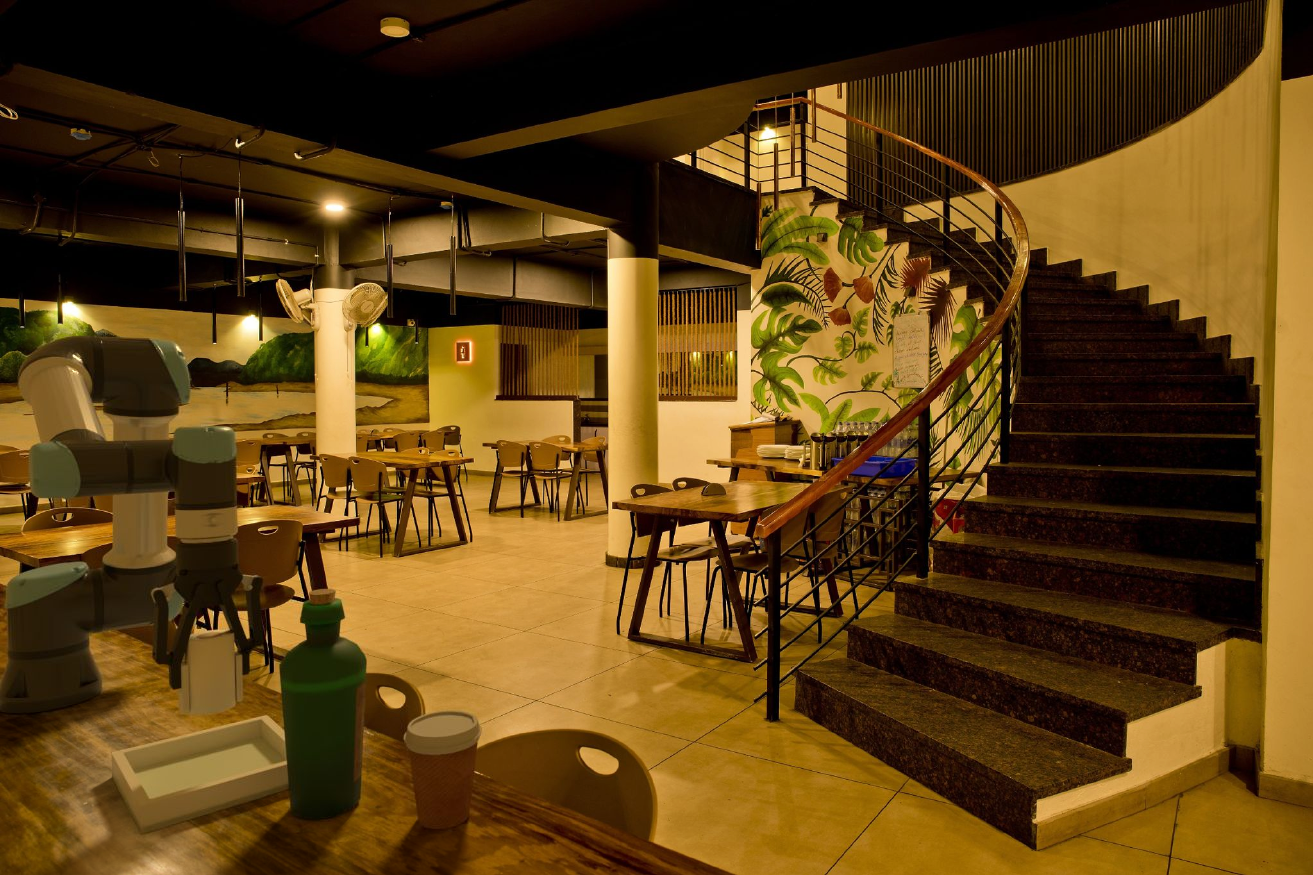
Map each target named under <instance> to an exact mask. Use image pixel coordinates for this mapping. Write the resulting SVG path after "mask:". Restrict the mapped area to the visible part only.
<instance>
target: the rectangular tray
mask: <svg viewBox="0 0 1313 875" xmlns="http://www.w3.org/2000/svg"><path fill="white" fill-rule="evenodd" d="M111 778H112V780H113V782H114V784H115V786H116V788H117V790H118V792H119V794H120V795H121V798H122V800H123V799H124V800H123V801H124V805H126V807H127V809H128V812H129V814H130V816H131V818H132V819H133V821H134V823H135V825H136V827H137V830H138V832H139V834H140V835H143V834H147V833H149V832H153V831H156V830H160V829H163V828H166V827H170V826H173V825H177V824H179V823H183V822H186V821H190V820H193V819H197V818H199V817H203V816H205V815H209V814H212V813H216V812H218V811H222V810H225V809H229V808H232V807H235V806H239V805H242V804H246V803H249V802H252V801H255V800H258V799H261V798H265V797H268V795H269V796H271V795H272V796H273V795H274V794H278V793H281V792H284V791H289V783H288V771H287V758H286V746H285V733H284V728H282V726H280V725H279V724H278V723H276V722H275V721H274V720H273V719H272V717H270V716H269V715H268V714H264V715H261V716H257V717H254V718H253V717H252V718H248V719H244V720H241V721H236V722H233V723H229V724H225V725H220V726H214V727H211V728H208V729H204V730H199V731H196V732H190V733H187V734H182V735H179V736H175V737H169V738H166V739H162V740H158V741H154V742H149V743H145V744H142V745H138V746H134V747H133V746H132V747H129V748H124V749H120V750H116V751H113V752H111Z"/></svg>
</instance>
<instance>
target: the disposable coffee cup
mask: <svg viewBox="0 0 1313 875" xmlns="http://www.w3.org/2000/svg"><path fill="white" fill-rule="evenodd" d="M482 731H483V729H482V726H481V725H480V724H479V719H478V718H477V716H476V715H475V714H473V713H471V712H469V711H463V710H440V711H439V710H438V711H433V712H429V713H425V714H422V715H420V716H418V717H417V716H416V718H415V717H414V719H412V720H411V721H409V723H408V725H407V729H406V731H405V733H404V735H403V742H404V743H405V746H406V748H407V751H408V758H409V765H410V766H409V767H410V772H411V780H412V785H413V793H414V799H415V808H416V814H417V822H418V824H419V825H420V826H422V827H423V828H425V829H431V830H443V829H450V828H454V827H457V826H458V825H461V824H463V823H464V822H465V821H466V820H467V819H468V818H469V817H470V814H471V813H470V812H471V811H470V810H471V803H472V794H473V786H474V777H475V770H476V768H475V767H476V758H477V753H478V752H477V750H478V744H479V743H478V742H479V741H480V737H481V734H482Z"/></svg>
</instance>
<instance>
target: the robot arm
mask: <svg viewBox="0 0 1313 875" xmlns="http://www.w3.org/2000/svg"><path fill="white" fill-rule="evenodd" d="M17 386H18V390H19V393H20V395H21V397H22V398H23V400H24V401H25V402H26V404H29V406H31V409H32V413H33V417H34V420H35V421H34V422H35V424H36V430H37V433H38V437H39V440H40V442H37V443H35V444H33V445H31V446H30V448H29V450H28V479H29V485H30V486H29V487H30V488H29V489H30V491H31V494H32V495H33V496H35V497H36V498H38V499H63V500H68V499H69V500H71V499H74V498H75V499H76V498H87V497H90V498H91V497H103V496H112V548H111V549H110V550H109V551H108V552H106V553H105V554H104V555H103V557H102V560H101V562H102V567H99V568H98V567H97V568H89V565H88V564H87V562H84V561H72V562H61V563H56V564H49V565H45V566H41V567H36V568H34V569H30V570H27V571H24V572H21V573H19V574H17V575H15V576H14V577H12V578H11V579H10V580H9V581H8V582H7V584H6V592H5V603H4V608H5V609H6V633H7V634H6V638H7V639H6V645H7V647H6V648H7V649H6V650H7V661H6V665H5V668H4V671H3V673H2V676H1V679H0V712H2V713H7V714H29V713H30V714H31V713H41V712H47V711H51V710H57V709H62V708H66V707H69V706H74V705H76V704H79V703H83V702H85V701H88V700H90V699H93V698H94V697H96V696H98V695H99V694H101V692H102V691H103V676H102V674H101V671H100V669H99V667H98V665H97V663H96V661H95V658H94V655H93V654H92V652H91V648H90V646H91V645H90V635H92V634H96V633H104V632H109V631H116V630H118V631H119V630H123V629H124V630H125V629H129V628H130V629H131V628H137V627H145V626H153V634H152V653H151V654H152V655H151V658H152V660H153V661H154V662H155V663H156V664H157V665H166V666H168V685H169V687H170V688H171V689H172V690H177V700H178V701H177V702H178V703H177V704H178V708H177V709H178V710H179V711H180V713H181V714H183V715H186V714H188V713H189V673H188V664H186V663H185V660H184V658H185V650H186V647H187V644H188V641H189V638H190V635H191V634H192V630H193V627H194V624H195V622H196V618H197V616H198V615H199V612H200V609H203V608H207V607H210V606H219V608H220V609H221V611H222V614H223V616H224V619H225V621H226V624H227V627H228V630H231V631H232V632H233V633H234V646H235V647H236V649H237V650H235V691H236V703H239V702H240V703H241V702H242V701H244V690H243V688H244V685H243V682H244V681H243V676H246V675H249V674H250V671H251V661H250V659H251V658H250V657H251V656H250V654H251V653H252V651H253V649H255V648H257V647H261V646H263V645H264V643H265V638H264V628H263V617H262V605H261V594H260V593H261V590H262V587H263V582H264V579H263V578H262V577H261V576H259V575H256V574H251V575H247V574H243V573H242V571H241V569H240V564H239V562H240V561H239V558H240V557H239V539H237V538H236V537H234V536H235V535H236V534H237V533H238V532H239V527H238V526H239V525H238V489H237V488H238V487H237V486H238V484H237V483H238V482H237V481H238V480H237V476H238V474H237V468H238V467H237V457H238V456H237V455H238V448H237V444H236V443H237V440H236V433H235V431H234V429H233V428H231V427H230V426H225V425H224V426H218V425H217V426H213V425H212V426H211V425H210V426H180V427H177V428H176V429H175V430H174V432H173V439H170V438H169V437H170V423H171V422H172V421H173V420H174V419H175V418H176V417H177V416H179V414H180V413H179V412H180V411H179V410H180V405H185V404H187V403H189V402H190V399H191V381H190V372H189V368H188V364H187V360H186V357H185V354H184V352H183V350H182V348H181V347H180V346H179V344H177V343H176V342H175V341H171V340H165V339H158V338H156V339H155V338H151V337H122V336H121V337H120V336H95V335H93V336H90V335H72V336H71V335H70V336H65V337H61V338H57V339H55V340H51V341H49V342H48V343H45V344H44V345H41V346H40V347H38V348H37V349H35V350H34V351H33V352H30V354H29V355H28V356H27V357H26V358H25V360H24V361H23V362H22V364H21V365H20V368H19V370H18V375H17ZM94 404H102V413H103V415H105V417H107V418H108V419H109V420H111V421H112V424H113V425H112V426H113V427H112V429H113V432H112V434H113V435H112V440H108V439H107V437H106V435H105V434H106V433H105V431H104V429H103V426H102V424H101V421H100V419H99V416H98V413H97V411H96V408H95V406H94ZM171 492H174V526H175V527H174V530H175V531H174V534H175V537H176V538H177V539H180V540H179V541H178V542H177V543H176V544H175V550H173V549H172V548H170V547H169V546H168V507H169V506H168V504H169V503H168V502H169V501H168V500H169V499H168V498H169V493H171ZM240 584H242V589H243V590H245V602H246V603H245V604H246V612H247V624H248V636H249V637H247V635H246V632H245V630H244V628H243V624H242V622H241V620H240V617H239V615H238V612H237V609H236V604H235V603H234V599H233V597H232V596H233V594H234V593H235V591H236V590H237V589H238V588H239V585H240ZM180 612H181V616H180V617H179V620H178V624H177V627H176V631H175V635H174V637H173V640H172V644H171V646H170V650H169V653H168V637H169V633H168V632H169V622H170V621H172V620H174V619H175V618H176V617H177V616H178V615H179V614H180Z"/></svg>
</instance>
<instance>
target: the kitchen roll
mask: <svg viewBox="0 0 1313 875" xmlns="http://www.w3.org/2000/svg"><path fill="white" fill-rule="evenodd" d="M235 647H236V645H235V642H234V633H233V632H232V631H231V630H230V629H211V630H204V631H197V632H195V633H191V634H190V638H189V641H188V644H187V647H186V650H185V654H184V661H185V663H186V664H188V673H189V713H187V714H188V715H191V716H209V715H214V714H219V713H222V712H226V711H229V710H230V709H232V708H234V707H235V706H236V703H237V701H236V691H235V651H236V650H235Z"/></svg>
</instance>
